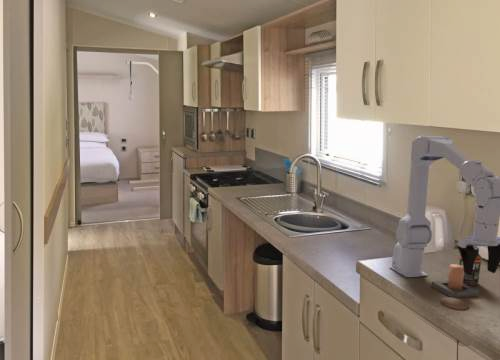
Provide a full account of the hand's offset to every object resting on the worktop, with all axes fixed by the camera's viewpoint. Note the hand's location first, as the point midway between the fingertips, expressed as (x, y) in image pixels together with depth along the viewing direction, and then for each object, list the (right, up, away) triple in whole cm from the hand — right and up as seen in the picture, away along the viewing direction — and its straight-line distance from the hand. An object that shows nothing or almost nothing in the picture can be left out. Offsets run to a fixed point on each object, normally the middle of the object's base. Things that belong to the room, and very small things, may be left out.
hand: (479, 272), depth 132 cm
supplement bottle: (+6, -7, +21) cm, 23 cm away
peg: (-1, -8, +13) cm, 16 cm away
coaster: (-5, -9, +4) cm, 11 cm away
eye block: (-1, -8, +13) cm, 16 cm away
